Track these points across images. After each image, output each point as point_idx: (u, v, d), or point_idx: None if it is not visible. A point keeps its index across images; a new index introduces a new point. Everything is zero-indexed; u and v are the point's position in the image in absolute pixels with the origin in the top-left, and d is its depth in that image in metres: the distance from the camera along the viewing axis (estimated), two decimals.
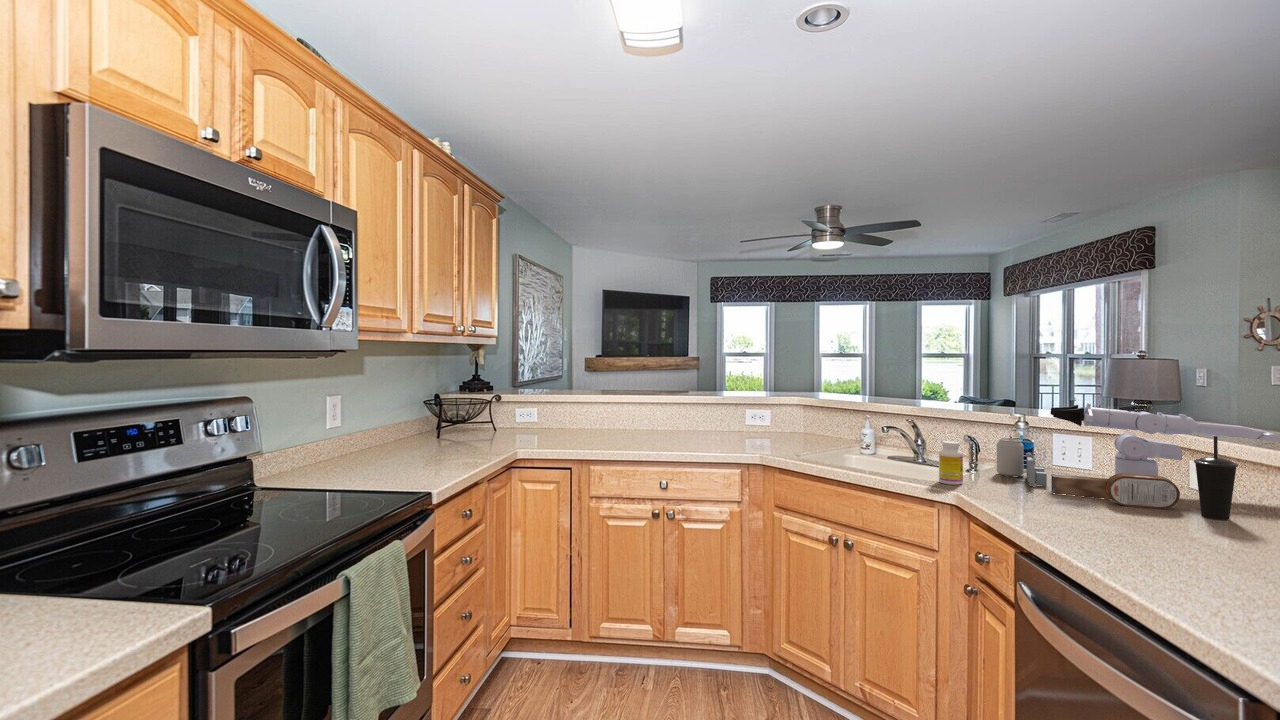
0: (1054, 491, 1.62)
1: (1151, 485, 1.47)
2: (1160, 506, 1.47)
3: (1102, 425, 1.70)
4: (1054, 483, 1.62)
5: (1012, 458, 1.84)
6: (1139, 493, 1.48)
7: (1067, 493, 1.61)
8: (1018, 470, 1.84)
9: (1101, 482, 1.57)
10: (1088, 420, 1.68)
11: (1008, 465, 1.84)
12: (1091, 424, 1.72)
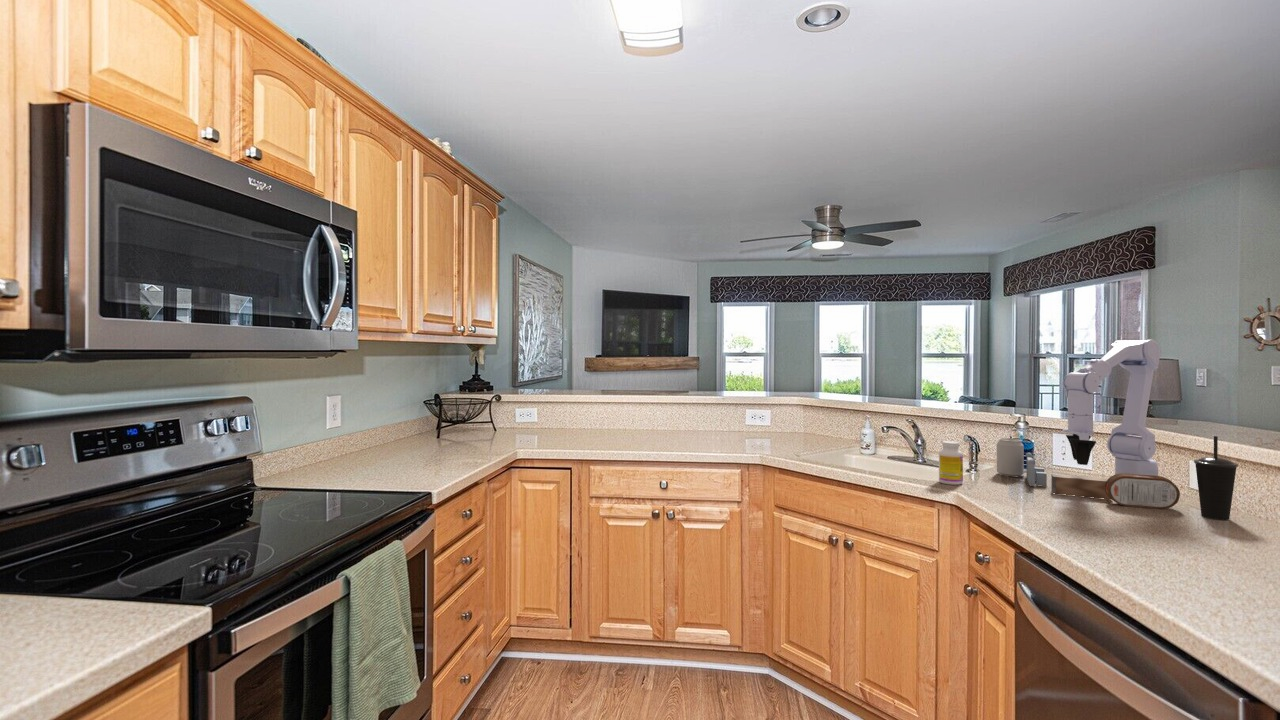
0: (1054, 491, 1.62)
1: (1151, 485, 1.47)
2: (1160, 506, 1.47)
3: (1091, 419, 1.58)
4: (1054, 483, 1.62)
5: (1012, 458, 1.84)
6: (1139, 493, 1.48)
7: (1067, 493, 1.61)
8: (1018, 470, 1.84)
9: (1101, 482, 1.57)
10: (1087, 437, 1.54)
11: (1008, 465, 1.84)
12: (1091, 429, 1.58)
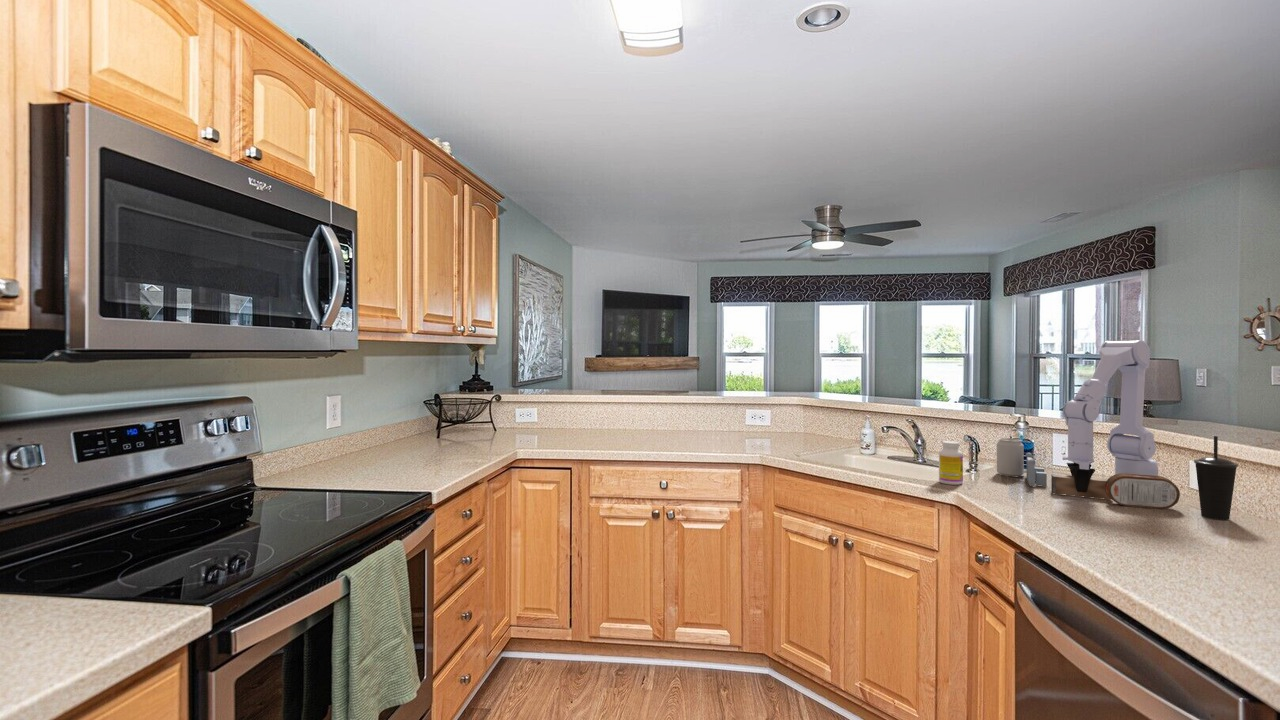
0: (1054, 491, 1.62)
1: (1151, 485, 1.47)
2: (1160, 506, 1.47)
3: (1091, 448, 1.58)
4: (1054, 483, 1.62)
5: (1012, 458, 1.84)
6: (1139, 493, 1.48)
7: (1067, 493, 1.61)
8: (1018, 470, 1.84)
9: (1101, 482, 1.57)
10: (1087, 466, 1.54)
11: (1008, 465, 1.84)
12: (1091, 457, 1.58)
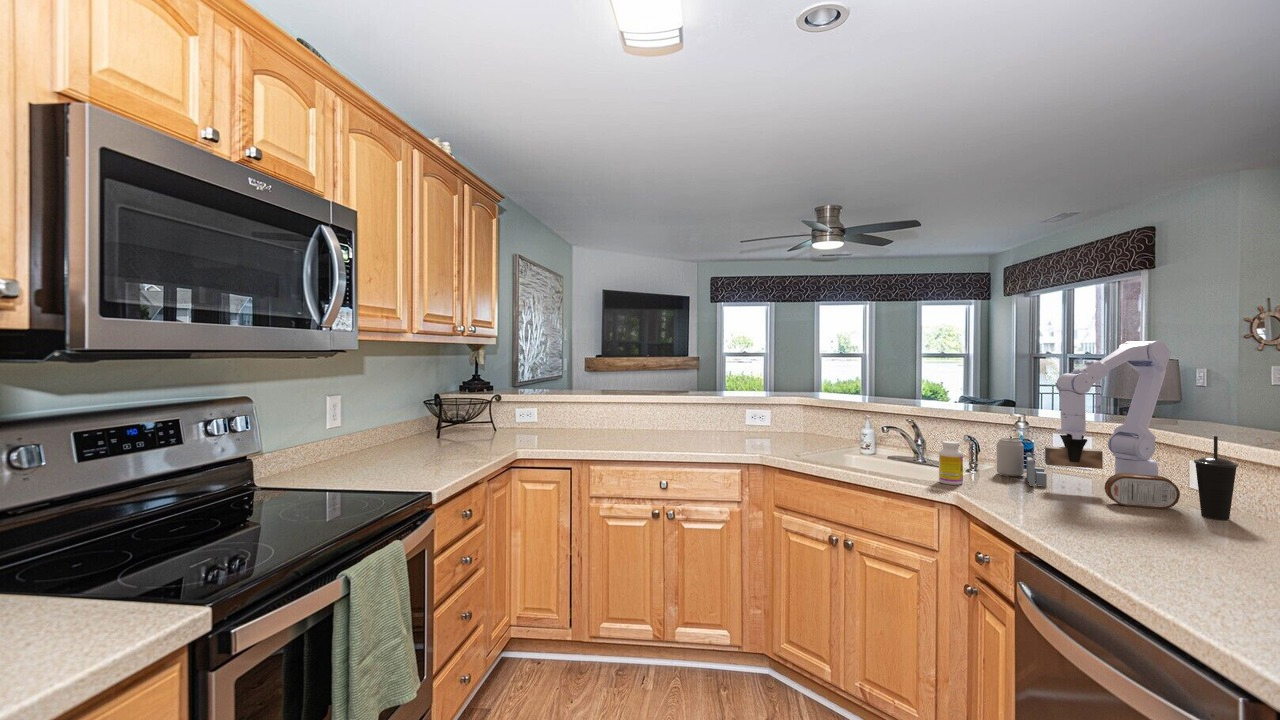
0: (1048, 462, 1.67)
1: (1151, 485, 1.47)
2: (1160, 506, 1.47)
3: (1083, 419, 1.63)
4: (1048, 454, 1.67)
5: (1012, 458, 1.84)
6: (1139, 493, 1.48)
7: (1060, 464, 1.66)
8: (1018, 470, 1.84)
9: (1093, 452, 1.62)
10: (1079, 436, 1.59)
11: (1008, 465, 1.84)
12: (1083, 428, 1.63)
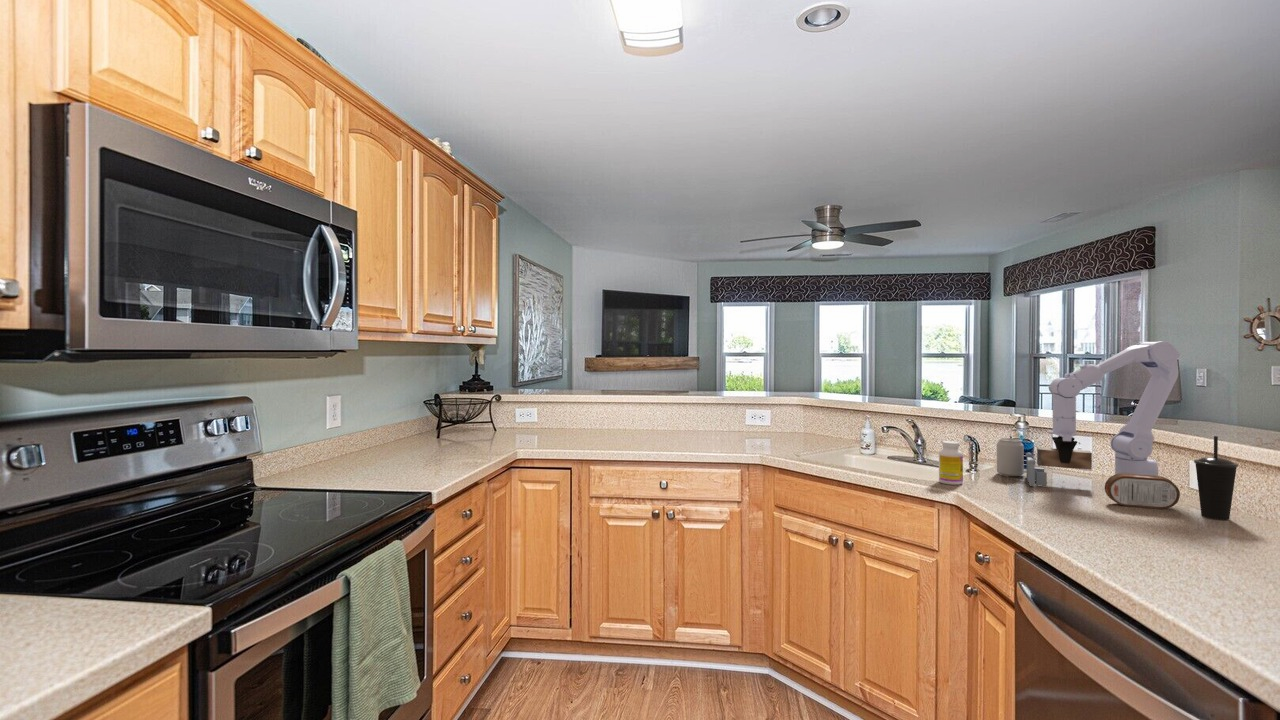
0: (1039, 463, 1.74)
1: (1151, 485, 1.47)
2: (1160, 506, 1.47)
3: (1073, 422, 1.70)
4: (1039, 455, 1.74)
5: (1012, 458, 1.84)
6: (1139, 493, 1.48)
7: (1051, 464, 1.73)
8: (1018, 470, 1.84)
9: (1082, 453, 1.69)
10: (1069, 438, 1.66)
11: (1008, 465, 1.84)
12: (1074, 430, 1.70)
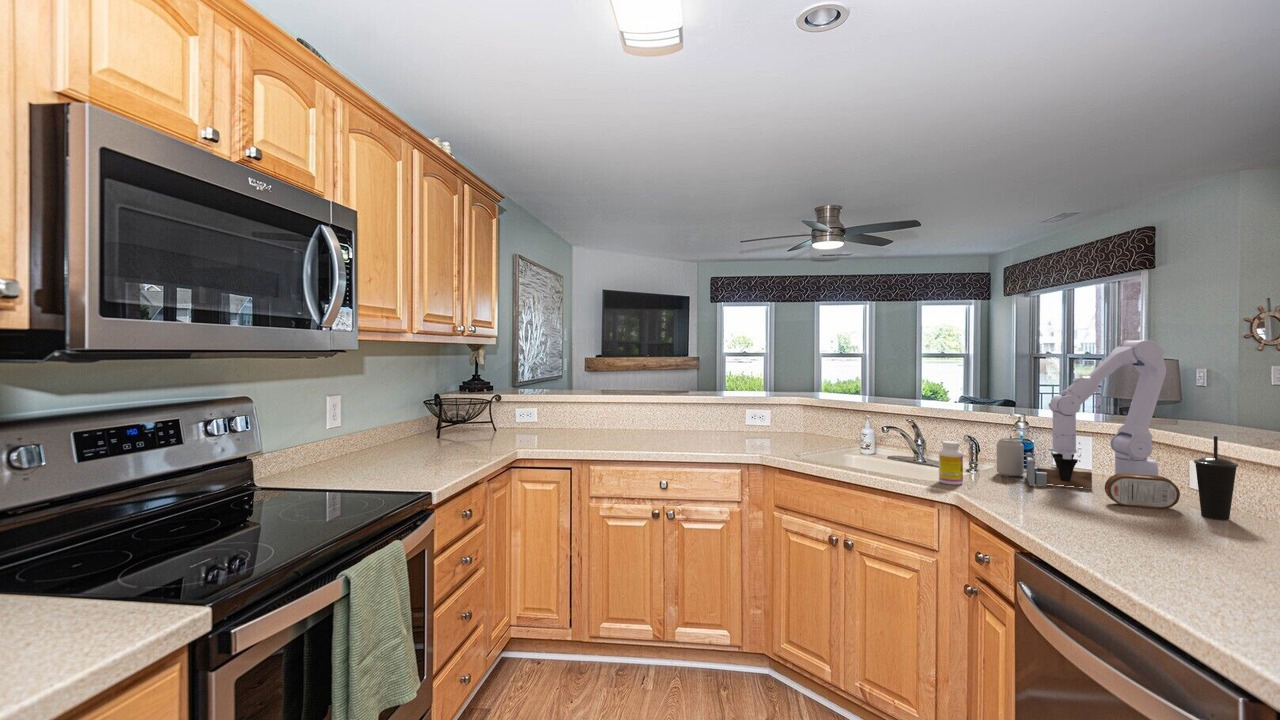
0: None
1: (1151, 485, 1.47)
2: (1160, 506, 1.47)
3: (1073, 439, 1.70)
4: None
5: (1012, 458, 1.84)
6: (1139, 493, 1.48)
7: (1051, 483, 1.73)
8: (1018, 470, 1.84)
9: (1083, 473, 1.69)
10: (1069, 456, 1.66)
11: (1008, 465, 1.84)
12: (1074, 448, 1.70)
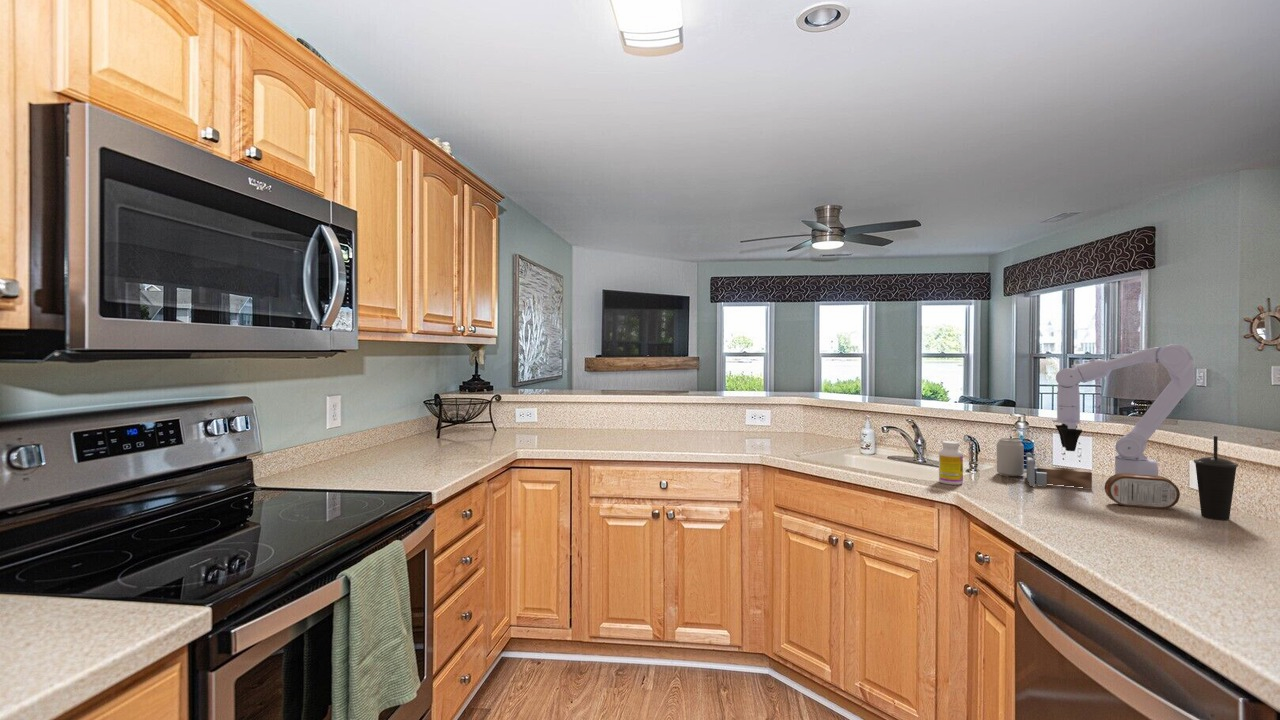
0: None
1: (1151, 485, 1.47)
2: (1160, 506, 1.47)
3: (1077, 410, 1.76)
4: None
5: (1012, 458, 1.84)
6: (1139, 493, 1.48)
7: (1051, 483, 1.73)
8: (1018, 470, 1.84)
9: (1083, 473, 1.69)
10: (1074, 426, 1.72)
11: (1008, 465, 1.84)
12: (1078, 419, 1.76)
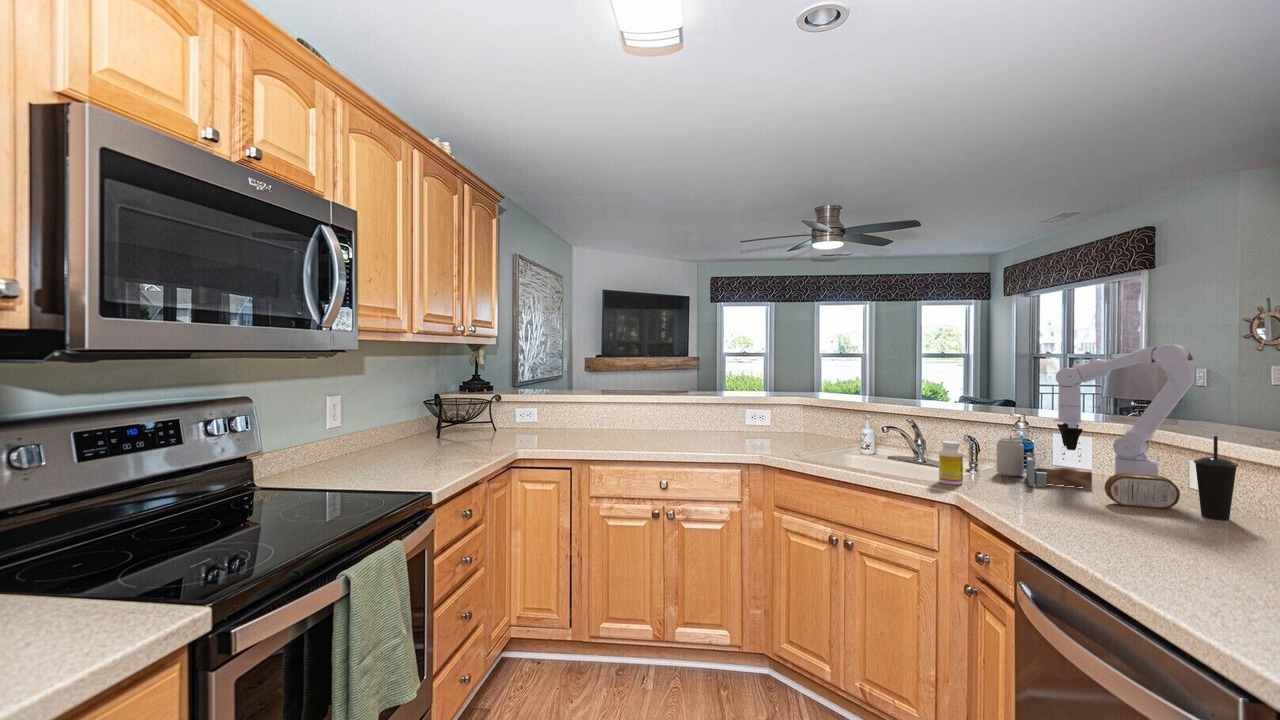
0: None
1: (1151, 485, 1.47)
2: (1160, 506, 1.47)
3: (1078, 410, 1.78)
4: None
5: (1012, 458, 1.84)
6: (1139, 493, 1.48)
7: (1051, 483, 1.73)
8: (1018, 470, 1.84)
9: (1083, 473, 1.69)
10: (1075, 425, 1.74)
11: (1008, 465, 1.84)
12: (1079, 418, 1.78)
